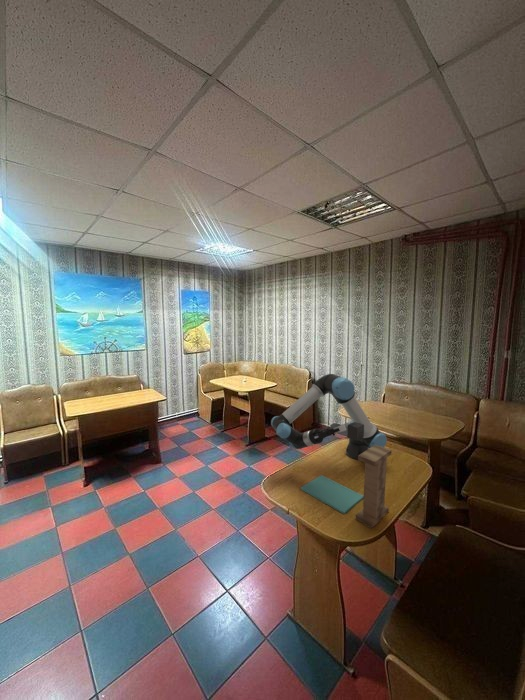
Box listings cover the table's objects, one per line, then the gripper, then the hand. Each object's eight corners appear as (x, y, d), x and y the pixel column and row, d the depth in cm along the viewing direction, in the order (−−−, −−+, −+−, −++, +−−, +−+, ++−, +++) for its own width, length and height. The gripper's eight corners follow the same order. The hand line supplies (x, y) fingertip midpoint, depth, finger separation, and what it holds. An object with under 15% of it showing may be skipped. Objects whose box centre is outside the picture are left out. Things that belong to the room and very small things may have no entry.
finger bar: (335, 428, 145) (336, 416, 145) (363, 436, 134) (364, 424, 133) (328, 431, 141) (329, 419, 141) (357, 440, 130) (357, 427, 129)
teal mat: (321, 476, 162) (321, 475, 162) (363, 497, 143) (364, 496, 143) (300, 489, 150) (300, 487, 150) (344, 514, 131) (344, 512, 131)
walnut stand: (372, 503, 139) (375, 444, 135) (388, 511, 133) (391, 450, 130) (355, 519, 128) (358, 455, 125) (371, 528, 122) (374, 461, 119)
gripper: (325, 439, 157) (360, 429, 141) (305, 449, 146) (341, 438, 130) (320, 426, 159) (353, 414, 143) (300, 434, 148) (334, 422, 132)
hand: (347, 426), depth 137 cm, fingers closed on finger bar, 4 cm apart
